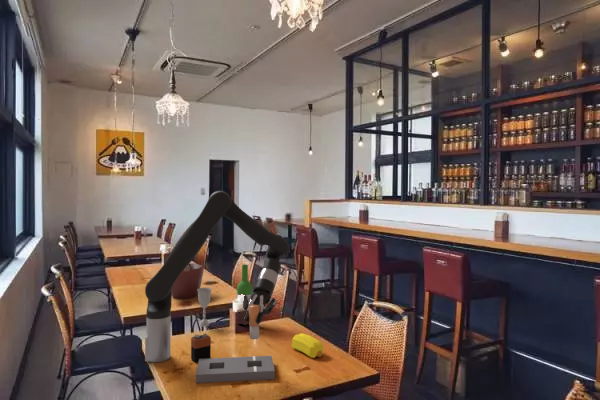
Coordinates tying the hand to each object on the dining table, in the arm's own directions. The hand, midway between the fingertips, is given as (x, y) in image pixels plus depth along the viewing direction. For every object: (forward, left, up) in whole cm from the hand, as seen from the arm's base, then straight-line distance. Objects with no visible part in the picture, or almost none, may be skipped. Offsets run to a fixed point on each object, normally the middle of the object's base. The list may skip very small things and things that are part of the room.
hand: (252, 322), depth 158 cm
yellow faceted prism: (+24, +18, -20) cm, 36 cm away
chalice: (-22, +59, -20) cm, 66 cm away
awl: (+1, +2, -7) cm, 7 cm away
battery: (-20, +16, -20) cm, 32 cm away
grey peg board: (-6, +2, -19) cm, 20 cm away
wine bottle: (-2, +59, -20) cm, 62 cm away
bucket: (-39, +118, -20) cm, 125 cm away
